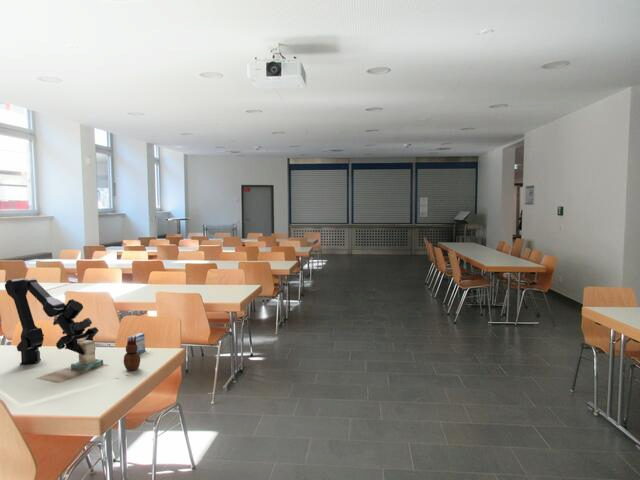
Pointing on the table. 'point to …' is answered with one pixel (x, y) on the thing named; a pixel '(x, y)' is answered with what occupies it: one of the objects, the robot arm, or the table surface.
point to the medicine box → (139, 341)
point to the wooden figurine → (131, 355)
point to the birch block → (87, 352)
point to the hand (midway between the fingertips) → (89, 352)
